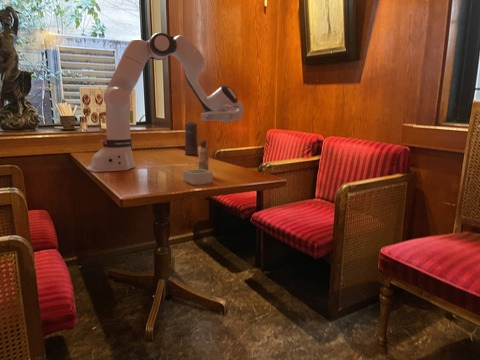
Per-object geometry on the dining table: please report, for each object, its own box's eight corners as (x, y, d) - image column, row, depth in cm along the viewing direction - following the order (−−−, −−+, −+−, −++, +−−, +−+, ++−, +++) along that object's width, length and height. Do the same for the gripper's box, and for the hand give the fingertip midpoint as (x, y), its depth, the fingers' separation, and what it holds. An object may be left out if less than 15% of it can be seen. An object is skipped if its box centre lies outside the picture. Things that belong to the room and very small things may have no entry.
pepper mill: (201, 176, 165) (201, 140, 162) (197, 174, 169) (196, 139, 165) (210, 175, 168) (210, 140, 164) (205, 173, 171) (205, 139, 168)
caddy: (193, 185, 148) (193, 174, 147) (183, 181, 156) (183, 170, 155) (212, 182, 153) (212, 172, 152) (201, 178, 161) (201, 168, 160)
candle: (193, 153, 233) (193, 121, 229) (199, 154, 228) (199, 122, 223) (182, 154, 229) (182, 121, 224) (188, 155, 223) (188, 122, 219)
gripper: (207, 107, 189) (194, 112, 177) (244, 106, 181) (233, 111, 169) (208, 120, 191) (196, 125, 179) (245, 119, 183) (234, 124, 171)
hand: (214, 118), depth 174 cm, fingers open, 8 cm apart
